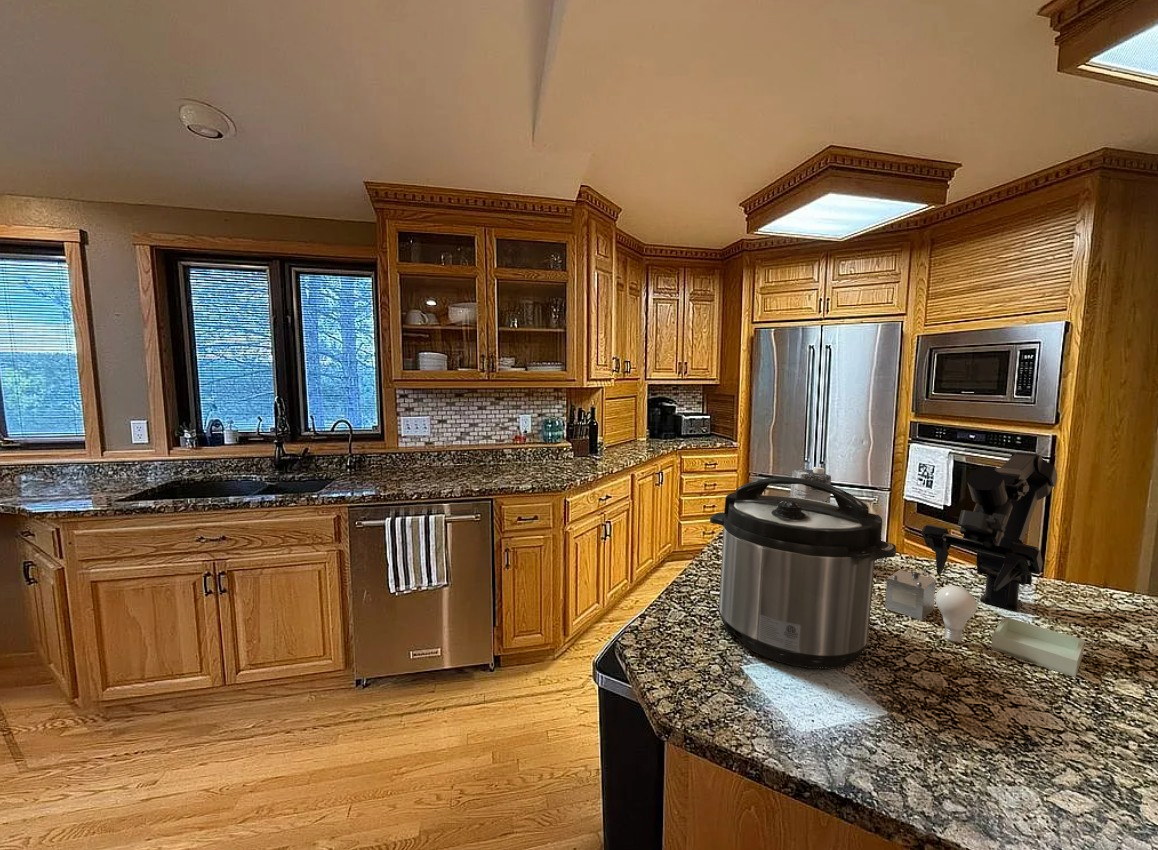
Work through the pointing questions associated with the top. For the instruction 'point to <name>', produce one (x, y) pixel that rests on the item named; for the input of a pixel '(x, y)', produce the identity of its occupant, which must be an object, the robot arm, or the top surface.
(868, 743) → the top surface
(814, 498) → the juice carton
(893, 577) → the block
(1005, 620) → the tray
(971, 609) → the lightbulb
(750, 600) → the pressure cooker
